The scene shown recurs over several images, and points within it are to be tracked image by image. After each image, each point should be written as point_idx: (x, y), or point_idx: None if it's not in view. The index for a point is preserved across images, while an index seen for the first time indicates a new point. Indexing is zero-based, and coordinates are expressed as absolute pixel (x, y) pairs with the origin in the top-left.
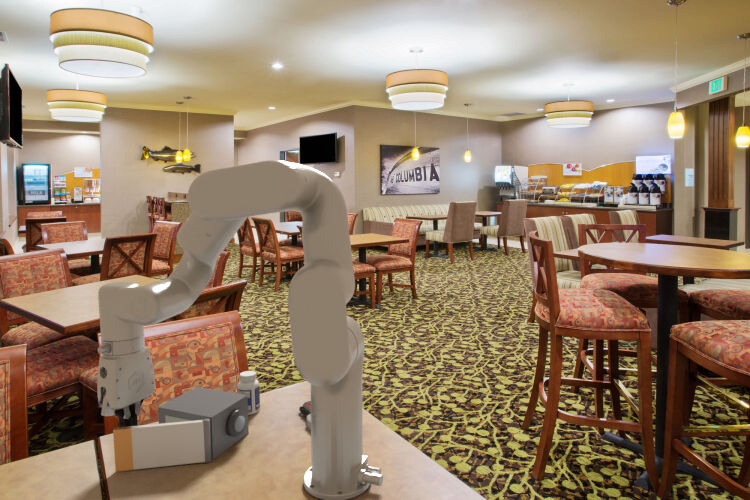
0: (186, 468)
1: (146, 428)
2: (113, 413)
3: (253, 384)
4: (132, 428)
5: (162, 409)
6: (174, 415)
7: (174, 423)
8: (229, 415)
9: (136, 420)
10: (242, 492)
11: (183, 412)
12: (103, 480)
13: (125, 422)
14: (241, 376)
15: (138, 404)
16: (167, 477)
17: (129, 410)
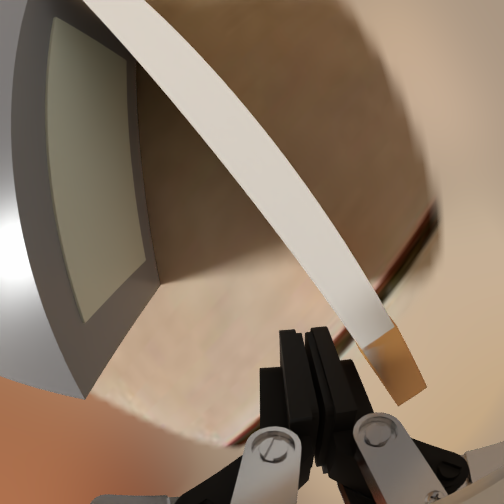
0: (220, 67)
1: (339, 234)
2: (476, 459)
3: None
4: (390, 320)
5: (74, 363)
6: (54, 254)
7: (168, 58)
8: None
9: (296, 387)
10: None
11: (16, 173)
12: (394, 277)
13: (366, 405)
14: None
15: (257, 496)
16: (299, 82)
17: (302, 478)
